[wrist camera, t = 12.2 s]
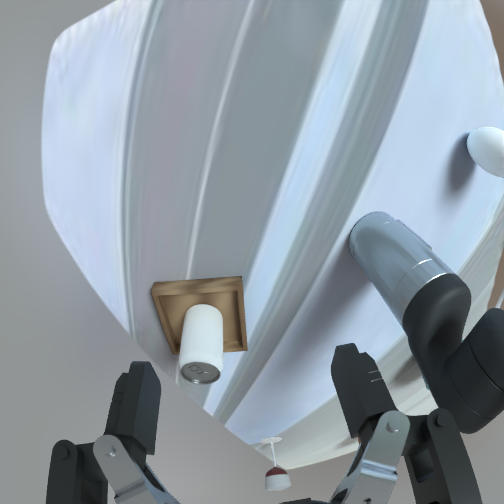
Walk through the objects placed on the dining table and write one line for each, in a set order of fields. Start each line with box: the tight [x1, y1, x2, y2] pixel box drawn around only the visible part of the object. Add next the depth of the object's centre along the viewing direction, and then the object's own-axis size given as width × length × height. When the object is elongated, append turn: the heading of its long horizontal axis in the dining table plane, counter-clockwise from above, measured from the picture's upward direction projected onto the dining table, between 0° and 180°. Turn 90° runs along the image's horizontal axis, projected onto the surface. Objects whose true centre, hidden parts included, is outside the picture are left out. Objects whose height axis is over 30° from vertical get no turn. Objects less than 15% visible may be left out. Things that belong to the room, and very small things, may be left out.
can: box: [179, 304, 223, 384], centre depth 40 cm, size 6×6×12 cm
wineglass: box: [261, 437, 291, 491], centre depth 71 cm, size 8×9×20 cm
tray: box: [151, 276, 248, 354], centre depth 45 cm, size 14×15×2 cm
